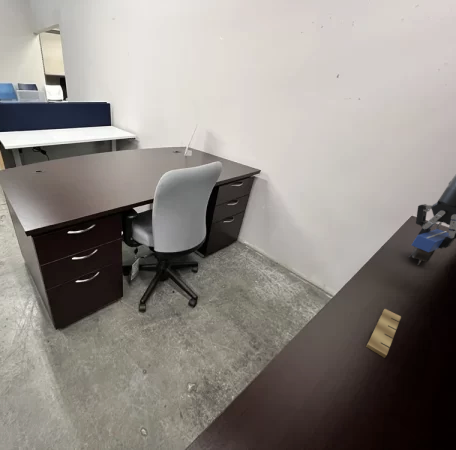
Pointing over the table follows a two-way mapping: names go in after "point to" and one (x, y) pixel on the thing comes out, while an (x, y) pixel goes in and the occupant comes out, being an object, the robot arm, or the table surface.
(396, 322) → the ruler
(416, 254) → the alarm clock
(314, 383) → the table surface
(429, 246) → the pencil case
